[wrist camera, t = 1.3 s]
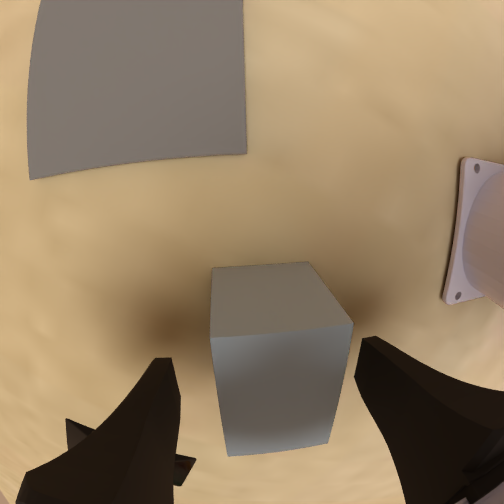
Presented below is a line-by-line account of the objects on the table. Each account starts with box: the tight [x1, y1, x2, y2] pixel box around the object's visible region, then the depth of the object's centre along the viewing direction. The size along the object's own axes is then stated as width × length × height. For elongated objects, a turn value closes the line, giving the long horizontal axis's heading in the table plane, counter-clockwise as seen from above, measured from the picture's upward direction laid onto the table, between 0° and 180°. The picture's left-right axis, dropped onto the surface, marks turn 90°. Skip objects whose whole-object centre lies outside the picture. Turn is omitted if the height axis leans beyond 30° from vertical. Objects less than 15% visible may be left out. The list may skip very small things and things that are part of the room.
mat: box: [27, 0, 247, 180], centre depth 9 cm, size 9×9×1 cm
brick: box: [210, 262, 354, 456], centre depth 11 cm, size 4×6×5 cm, turn 1°
